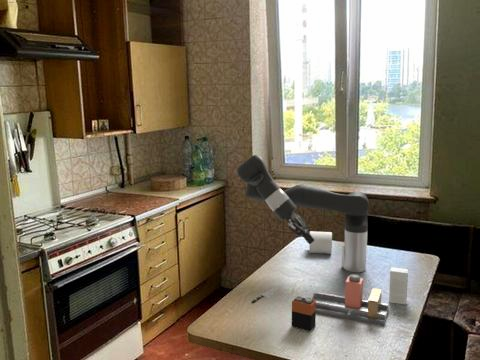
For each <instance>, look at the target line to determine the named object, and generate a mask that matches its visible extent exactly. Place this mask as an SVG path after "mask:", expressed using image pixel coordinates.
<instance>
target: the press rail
mask: <svg viewBox="0 0 480 360" xmlns="http://www.w3.org/2000/svg"><path fill="white" fill-rule="evenodd" d="M382 291H383V290H382V289H380V288H372V289H371V291H370V292H371V293H370V294H369V297H368V300H366V299H362V307H361V309H359V308H354V307H348V306H345V295H343V296H342V295H337V294H331V293H326V292H325V293H324V292H319V291H313V293H312V297H311V299H312V300H315V301H316V314H321V315H325V316H330V317H331V316H332V317H336V318H341V319H346V320H351V321H357V322H363V323H367V324H372V325H378V326H385V324H386V320H387V317H388V313H389V309H390V308H389V303H384V302H382Z"/></svg>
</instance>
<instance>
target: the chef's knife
mask: <svg viewBox="0 0 480 360" xmlns="http://www.w3.org/2000/svg"><path fill="white" fill-rule="evenodd" d="M276 291H277V286H274V287H272V288H270V289H268V290H267V291H265V292H264V293H262V294H261V295H259V296H257V297H256V298H254V299H252V300H251V303H252V304H255V303H256V302H257V301H259V300H261V299H262V298H270V297H271V296H272V295H273V294H274V293H275V292H276Z"/></svg>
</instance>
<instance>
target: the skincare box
mask: <svg viewBox="0 0 480 360" xmlns="http://www.w3.org/2000/svg"><path fill="white" fill-rule="evenodd" d="M408 279H409V269H408V268H399V267H392V266H391V267H390V272H389V294H388V302H389V303H391V304H399V305H407V302H408V301H407V299H408V282H409V281H408Z"/></svg>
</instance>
